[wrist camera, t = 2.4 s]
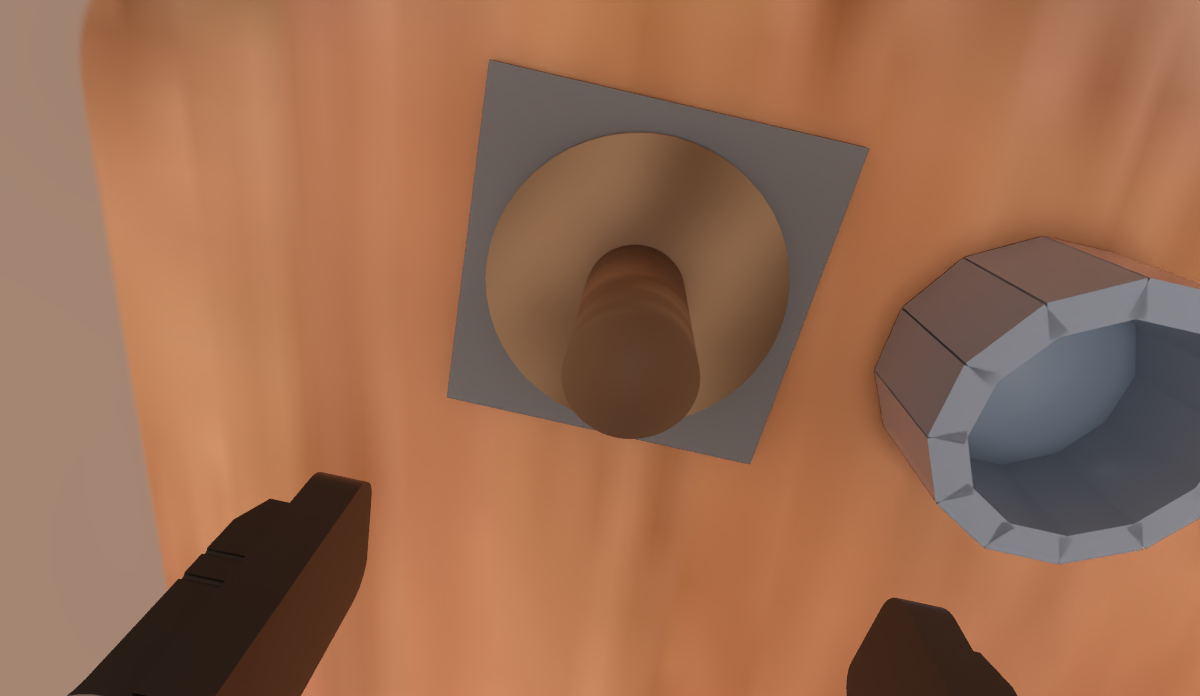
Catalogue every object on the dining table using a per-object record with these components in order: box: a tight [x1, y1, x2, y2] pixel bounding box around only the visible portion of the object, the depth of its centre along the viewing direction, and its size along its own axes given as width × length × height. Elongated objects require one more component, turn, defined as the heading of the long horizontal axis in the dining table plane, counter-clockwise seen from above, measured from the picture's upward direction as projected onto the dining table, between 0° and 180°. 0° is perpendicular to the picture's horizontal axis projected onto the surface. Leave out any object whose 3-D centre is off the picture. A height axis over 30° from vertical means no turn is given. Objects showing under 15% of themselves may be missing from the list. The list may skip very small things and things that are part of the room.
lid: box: [485, 132, 790, 439], centre depth 19 cm, size 11×11×8 cm
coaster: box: [447, 60, 869, 464], centre depth 23 cm, size 13×13×1 cm
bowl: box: [874, 236, 1200, 564], centre depth 21 cm, size 10×10×5 cm
